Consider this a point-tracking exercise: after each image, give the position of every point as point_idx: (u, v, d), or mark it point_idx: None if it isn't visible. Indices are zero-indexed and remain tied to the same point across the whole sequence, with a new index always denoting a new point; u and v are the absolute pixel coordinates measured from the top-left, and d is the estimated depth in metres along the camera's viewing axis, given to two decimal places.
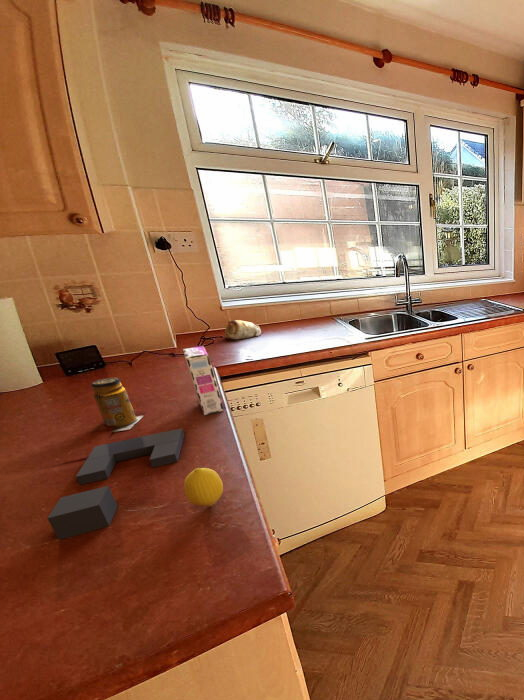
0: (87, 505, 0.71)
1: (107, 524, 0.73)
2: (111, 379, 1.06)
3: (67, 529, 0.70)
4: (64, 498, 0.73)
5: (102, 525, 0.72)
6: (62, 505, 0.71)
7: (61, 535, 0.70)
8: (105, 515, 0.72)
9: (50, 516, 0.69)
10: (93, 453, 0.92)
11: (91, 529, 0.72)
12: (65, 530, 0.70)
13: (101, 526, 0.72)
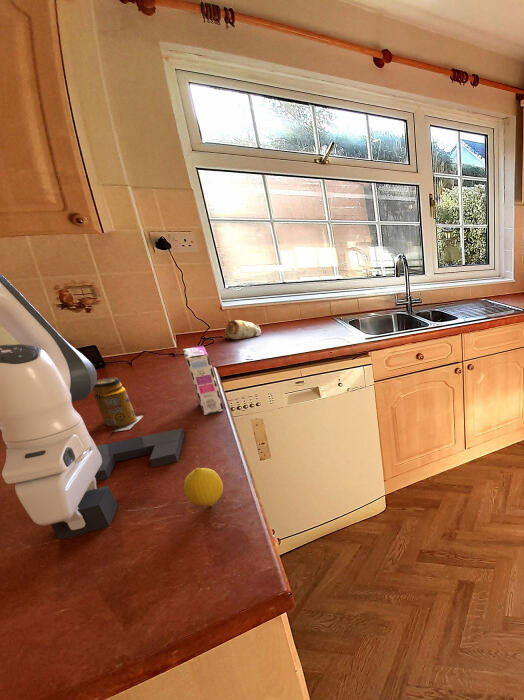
0: (87, 505, 0.71)
1: (107, 524, 0.73)
2: (111, 379, 1.06)
3: (67, 529, 0.70)
4: None
5: (102, 525, 0.72)
6: None
7: (61, 535, 0.70)
8: (105, 515, 0.72)
9: None
10: None
11: (91, 529, 0.72)
12: (65, 530, 0.70)
13: (101, 526, 0.72)
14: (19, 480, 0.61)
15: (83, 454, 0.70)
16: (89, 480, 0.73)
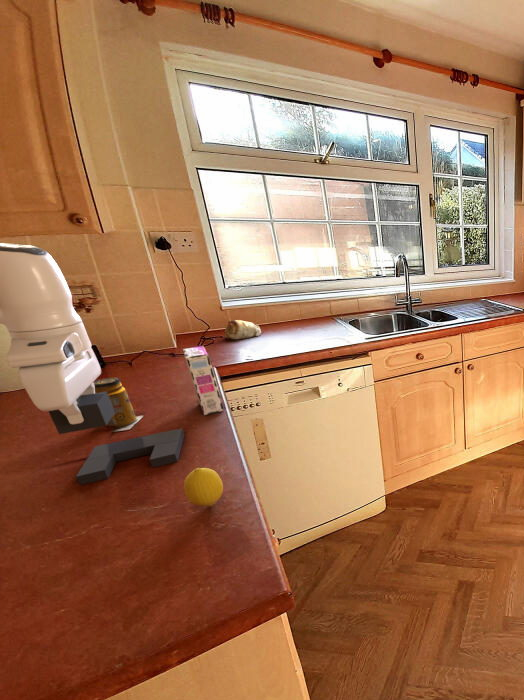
0: (86, 403, 0.76)
1: (104, 423, 0.77)
2: (111, 379, 1.06)
3: (67, 424, 0.75)
4: None
5: (100, 424, 0.77)
6: None
7: (61, 429, 0.74)
8: (102, 415, 0.77)
9: None
10: (93, 453, 0.92)
11: (89, 427, 0.76)
12: (65, 425, 0.75)
13: (99, 425, 0.77)
14: (22, 364, 0.65)
15: (82, 354, 0.75)
16: (88, 382, 0.78)
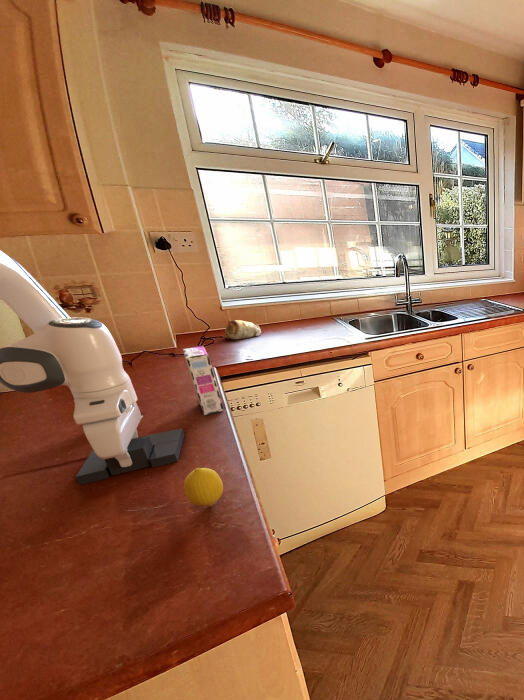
0: (133, 448, 0.88)
1: (149, 464, 0.90)
2: None
3: (118, 467, 0.87)
4: None
5: (145, 465, 0.90)
6: None
7: (113, 471, 0.87)
8: (147, 457, 0.90)
9: None
10: (93, 453, 0.92)
11: (136, 468, 0.89)
12: (116, 467, 0.87)
13: (144, 466, 0.89)
14: (86, 421, 0.78)
15: (130, 407, 0.87)
16: (134, 429, 0.90)
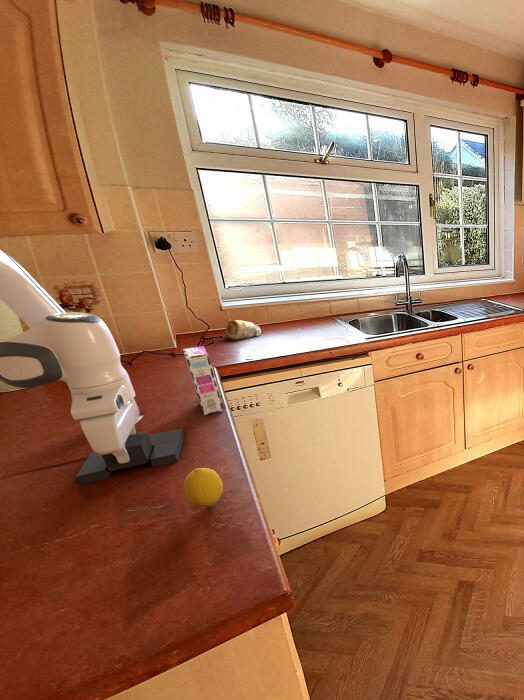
0: (131, 444, 0.88)
1: (147, 461, 0.89)
2: None
3: (116, 463, 0.87)
4: None
5: (143, 461, 0.89)
6: None
7: (111, 468, 0.87)
8: (145, 453, 0.89)
9: None
10: (93, 453, 0.92)
11: (134, 464, 0.88)
12: (114, 464, 0.87)
13: (142, 462, 0.89)
14: (83, 417, 0.78)
15: (128, 402, 0.87)
16: (131, 425, 0.90)
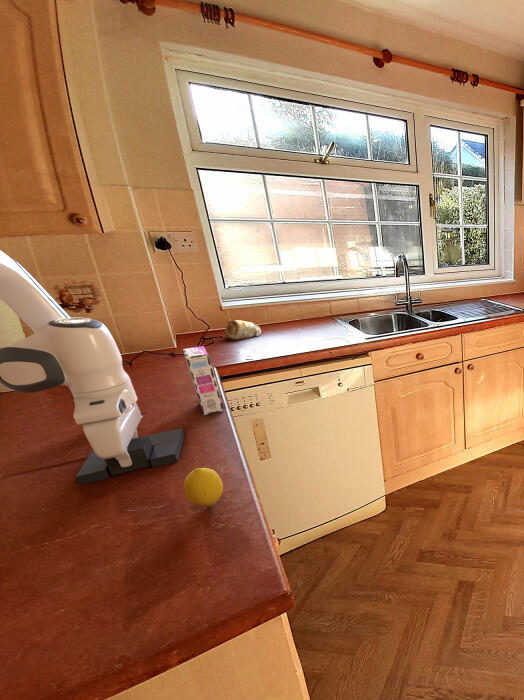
0: (133, 448, 0.88)
1: (149, 464, 0.90)
2: None
3: (118, 467, 0.87)
4: None
5: (145, 465, 0.90)
6: None
7: (113, 471, 0.87)
8: (147, 457, 0.90)
9: None
10: (93, 453, 0.92)
11: (136, 468, 0.89)
12: (116, 467, 0.87)
13: (144, 466, 0.89)
14: (86, 421, 0.78)
15: (130, 407, 0.87)
16: (134, 429, 0.90)
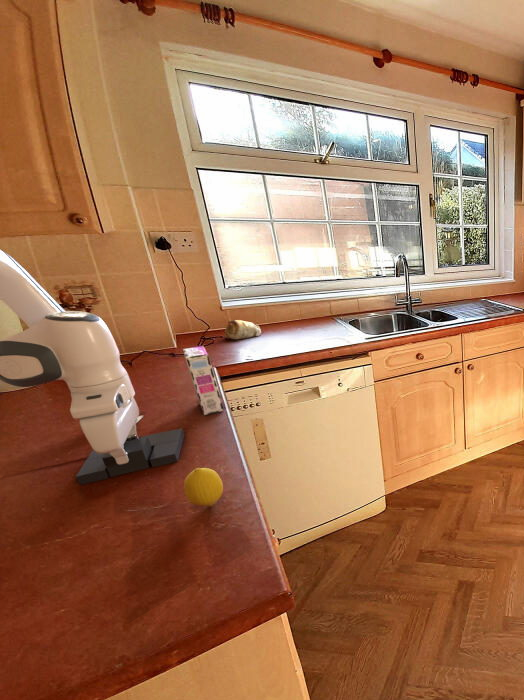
0: (132, 449, 0.88)
1: (148, 466, 0.90)
2: None
3: (117, 468, 0.87)
4: None
5: (144, 467, 0.89)
6: None
7: (112, 473, 0.87)
8: (146, 459, 0.89)
9: (104, 457, 0.85)
10: (93, 453, 0.92)
11: (135, 469, 0.89)
12: (115, 469, 0.87)
13: (143, 467, 0.89)
14: (83, 416, 0.77)
15: (128, 401, 0.87)
16: (131, 424, 0.89)
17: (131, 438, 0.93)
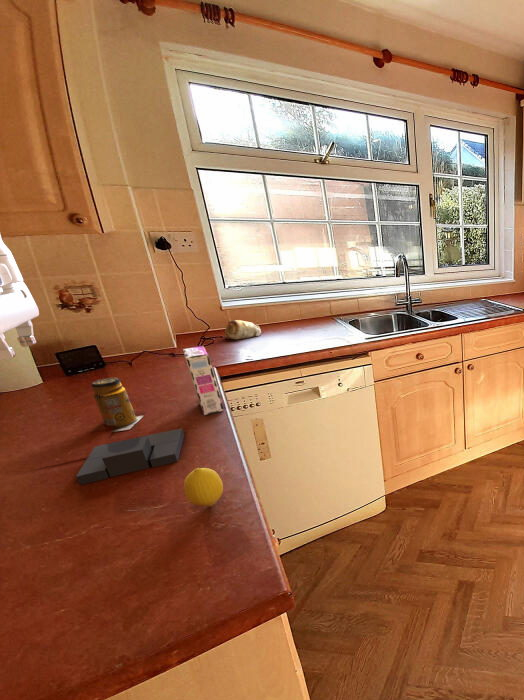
0: (132, 449, 0.88)
1: (148, 466, 0.90)
2: (111, 379, 1.06)
3: (117, 468, 0.87)
4: (113, 445, 0.90)
5: (144, 467, 0.89)
6: (112, 450, 0.88)
7: (112, 473, 0.87)
8: (146, 459, 0.89)
9: (104, 457, 0.85)
10: (93, 453, 0.92)
11: (135, 469, 0.89)
12: (115, 469, 0.87)
13: (143, 467, 0.89)
14: None
15: (13, 288, 0.74)
16: (21, 319, 0.77)
17: (25, 339, 0.80)
